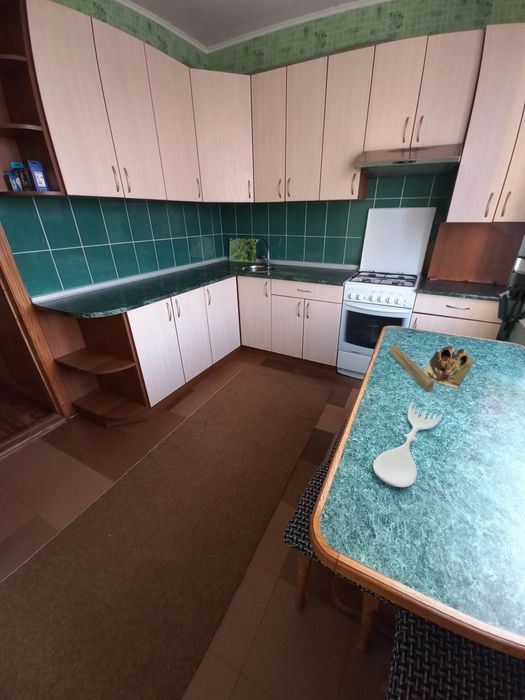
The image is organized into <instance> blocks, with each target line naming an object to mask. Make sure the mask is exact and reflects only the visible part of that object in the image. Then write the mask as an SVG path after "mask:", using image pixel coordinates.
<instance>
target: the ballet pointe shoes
mask: <svg viewBox="0 0 525 700" xmlns="http://www.w3.org/2000/svg"><path fill="white" fill-rule="evenodd" d="M474 362H475V358H473V357H469V353H468V351H467V350H466V349H465V348H460V349H458V350H457V351H455V348H454V346H451V345H449V346H444V347H443V348H441V349H439V348H438V349H437V350H436V351H435V353H434V354H433V356H432V357H431V358H430V360H429V361H428V362H427V364H426V365H425V367H424V368H423V369H422V371H423V372H424V373H425V374H426V375H427V376H428V377H429V378H430V379H431V380H433V381H434V382H436V383H439V384H442V385H444V386H446V387H451V388H452V389H457V390H458V388H460V386H461V383H462V382H463V380H464V378H465V377H466V375H467V373H468V372H469V370H470V369H471V367H472V365H473V363H474Z"/></svg>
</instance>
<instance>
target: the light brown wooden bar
mask: <svg viewBox="0 0 525 700" xmlns="http://www.w3.org/2000/svg"><path fill="white" fill-rule="evenodd" d="M389 354H390V356H392V357H393V358H394V359H395V361H396V362H397V363H398V364H399V365H400V366H401V367H402V368H403V369H404V370H405V371H406V372H407V373H408V375H410V376H411V377H412V379H414V381H415V382H416V383H417V384H419V386H420V387H421V388H422V389H423V390H424V391H425V392H432V391H433V389H434V385H435V381H433V380H431V379H430V378H429V377H428V376H427V375H426V374H425V373H424V372H423V369H422V368H420V367H419V365H417V364H416V363H415V362H414V361H413V360H412V359H411V358H410V357H409V356H407V354H405V352H404V351H403V350H402V349H400V348H399V347H398V346H397V344H391V345H390V347H389Z"/></svg>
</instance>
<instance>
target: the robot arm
mask: <svg viewBox="0 0 525 700" xmlns="http://www.w3.org/2000/svg"><path fill="white" fill-rule="evenodd" d="M523 235H524V236H523V239H522V242H521V245H520V248H519V250H518V255H517V256H516V257H517V258H516V260H515V262H514V266H513V271H512V272H511V274H510V277H509V280H508V283H509V285H508V287H507V288H506V291H504V292H499V293H497V296H498V308H497V309H498V310H497V319H498V320H500V321H501V323H500V327H499V330H500V331H499V334H498V336H497V337H498V338H500V339H502V340H504V341H507V340H509V338H510V336H511V333H512V331H513V330H514V328H515V326H516V323H517V324H518V323H519V324H520V322H521V321H522V320H524V319H525V234H523Z"/></svg>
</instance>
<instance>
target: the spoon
mask: <svg viewBox="0 0 525 700" xmlns="http://www.w3.org/2000/svg"><path fill="white" fill-rule="evenodd" d="M416 410H417V405H415V406H414V407H413V402H410V404H409V406H408V410H407V420H408V421H409V423H410V425H411V426H412V429H411V430H410V432H409V433H405V434H403V437H404V438H405V439H406V441H405V442H404V443H403V444H402V445H400V446H397V447H395V448H391V449H388V450H385V451H383V452H381V453H379V454H378V456H376V458H375V459H374V461H373V463H372V464H373V465H372V467H373V471H374V473H375V474H376V476H377V477H378V478H379V479H380V480H381V481H382V482H384V483H385V484H387V485H389V486H392V487H395V488H406V487H410V486H411V485H413V484H414V483H415V482H416V478H417V474H418V470H417V465H416V462H415V460H414V457H413V456H412V452H411V450H410V445H411V443H412V442H413V443H415V442H417V441H418V438H417V437H416V434H417V433H418V431H423V430H424V431H425V430H430V429H432V428H434V427H435V426H436V425H437V424H438V423H439V422H440V421H441V420H442V418H443V413H441V414H440V415H439V416H438V417H437V415H438V413H437V412H436V413H435V414H434V415H433V412H430V414H429V415H428V417H427V411H426V410H424V411H423V412H422V413H421V415H420V411H421V407H419V408H418V410H417V411H416ZM432 416H433V417H432ZM426 417H427V418H426Z"/></svg>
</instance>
